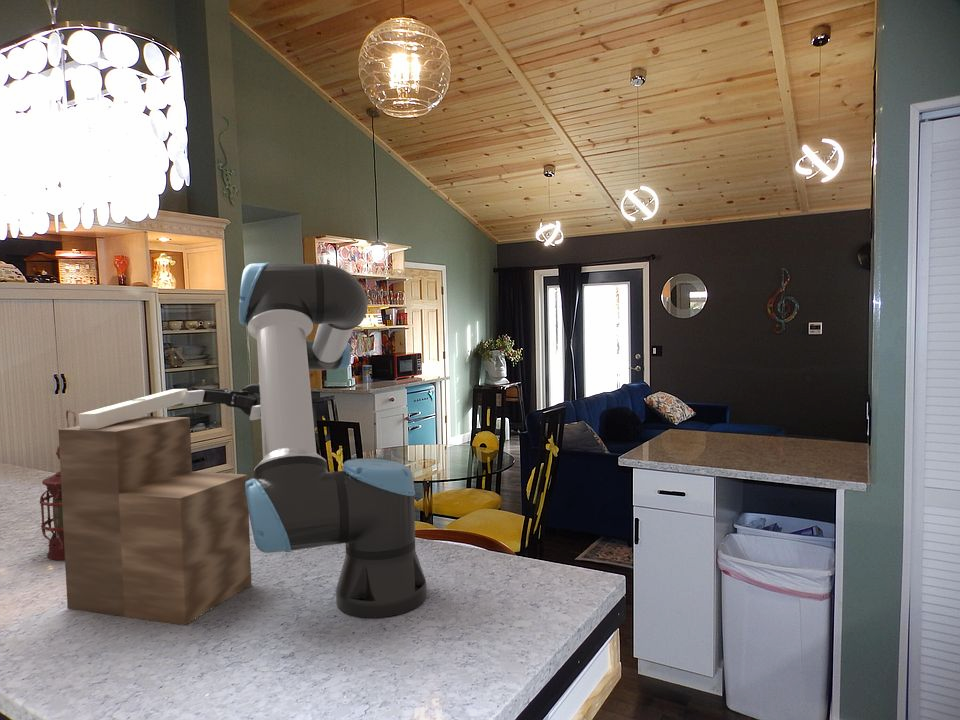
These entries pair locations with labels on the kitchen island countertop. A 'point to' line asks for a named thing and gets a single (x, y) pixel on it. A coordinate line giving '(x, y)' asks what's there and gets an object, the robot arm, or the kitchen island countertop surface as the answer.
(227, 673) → the kitchen island countertop surface
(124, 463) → the two tier stand
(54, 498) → the lantern
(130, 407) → the domino bar
